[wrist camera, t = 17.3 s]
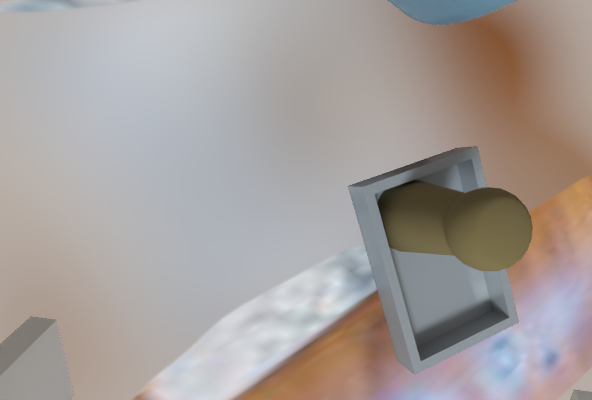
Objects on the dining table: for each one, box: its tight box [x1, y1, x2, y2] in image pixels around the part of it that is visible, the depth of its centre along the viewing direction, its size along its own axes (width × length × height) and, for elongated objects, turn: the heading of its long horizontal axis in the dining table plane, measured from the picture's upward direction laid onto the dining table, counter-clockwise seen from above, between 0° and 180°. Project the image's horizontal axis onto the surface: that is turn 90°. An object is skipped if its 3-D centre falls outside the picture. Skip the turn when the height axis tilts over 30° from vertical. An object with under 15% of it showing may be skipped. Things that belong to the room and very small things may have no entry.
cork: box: [377, 179, 532, 271], centre depth 31 cm, size 6×6×11 cm
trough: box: [348, 146, 519, 374], centre depth 37 cm, size 16×11×3 cm
